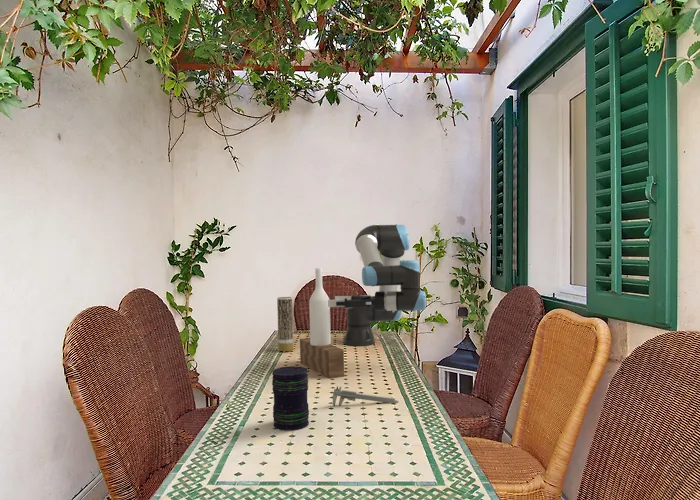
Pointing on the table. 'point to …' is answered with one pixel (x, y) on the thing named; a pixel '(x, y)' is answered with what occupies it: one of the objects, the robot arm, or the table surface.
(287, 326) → the paper tube
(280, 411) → the storage jar
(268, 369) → the table surface
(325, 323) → the bottle
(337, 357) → the wooden block
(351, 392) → the caliper
